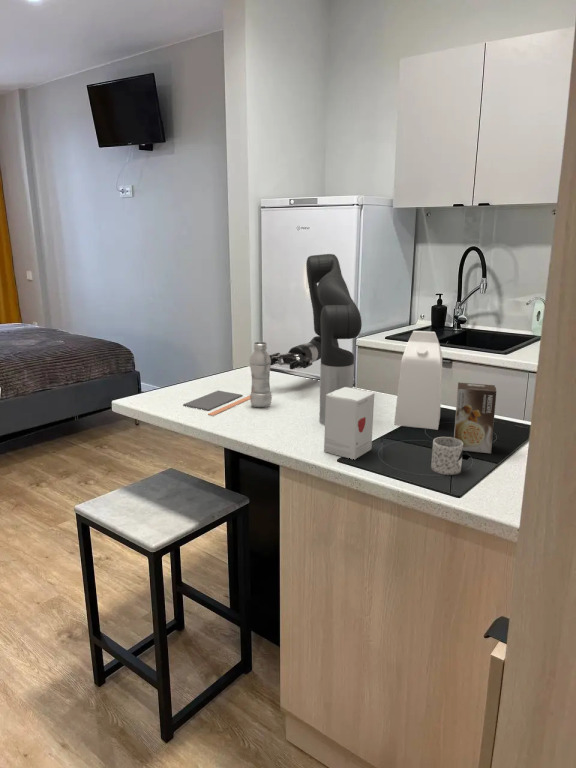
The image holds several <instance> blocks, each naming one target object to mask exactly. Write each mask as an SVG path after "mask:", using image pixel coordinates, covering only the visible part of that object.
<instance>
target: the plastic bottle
mask: <svg viewBox="0 0 576 768" xmlns="http://www.w3.org/2000/svg"><path fill="white" fill-rule="evenodd" d="M267 349H268V347H267V342H265V341H255V342H254V343H253V350H254V351H253V352H252V353H251V355H250V357H249V367H250V374H251V388H250V390H251V391H250V394H249V396H250V404H251V405H252V406H253V407H257V408H266V407H269V406H270V405H271V404H272V400H273V397H272V392H271V386H270V372H271V367H272V365H271V358H270V356H269V355H270V354H269V353H268V352H267Z"/></svg>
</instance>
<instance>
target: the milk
mask: <svg viewBox="0 0 576 768" xmlns="http://www.w3.org/2000/svg"><path fill="white" fill-rule="evenodd" d="M442 377H443V352H442V349H441V345H440V341H439V339H438V336H437V334H436V332H435V331H424V330H423V331H422V330H413V331H412V333H411V334H410V337H409V339H408V341H407V344H406V346H405V349H404V352H403V354H402V357H401V361H400V369H399V378H398V388H397V396H396V405H395V412H394V414H395V415H394V422H393V423H394V426H401V427H409V428H410V427H411V428H418V429H419V428H420V429H428V430H437V431H438V430H439V425H440V419H441V406H442V405H441V403H442V382H443V381H442V380H443V379H442Z"/></svg>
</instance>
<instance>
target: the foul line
mask: <svg viewBox="0 0 576 768" xmlns="http://www.w3.org/2000/svg"><path fill="white" fill-rule="evenodd" d="M249 400H250V395H248V396H246V397H243V398H241V399H237V400H236V401H234V402H231V403H230V404H229V403H228V404H226V405H224V406H223V407H221V408H218V409H216V410H213V411H210V412H209V413H208V414H207V415H208V416H212V417H215V416H216V415H218V414H221V413H223V412H225V411H228V410H229V409H232V408H234V407H237V406H239V405H241V404H243V403H245V402H248V401H249ZM236 405H237V406H236ZM227 409H228V410H227Z"/></svg>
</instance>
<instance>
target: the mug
mask: <svg viewBox="0 0 576 768" xmlns="http://www.w3.org/2000/svg"><path fill="white" fill-rule="evenodd" d="M430 462H431V464H430V469H431V470H432V471H433V472H435V473H438V474H439V475H440V474H441V475H445V476H454V475H455V476H456V475H458V474H461V472H462V462H463V442H462V441H461V440H459V439H456V438H454V437H452V436H439V437H435V438H434V439H433V441H432V450H431V461H430Z"/></svg>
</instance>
